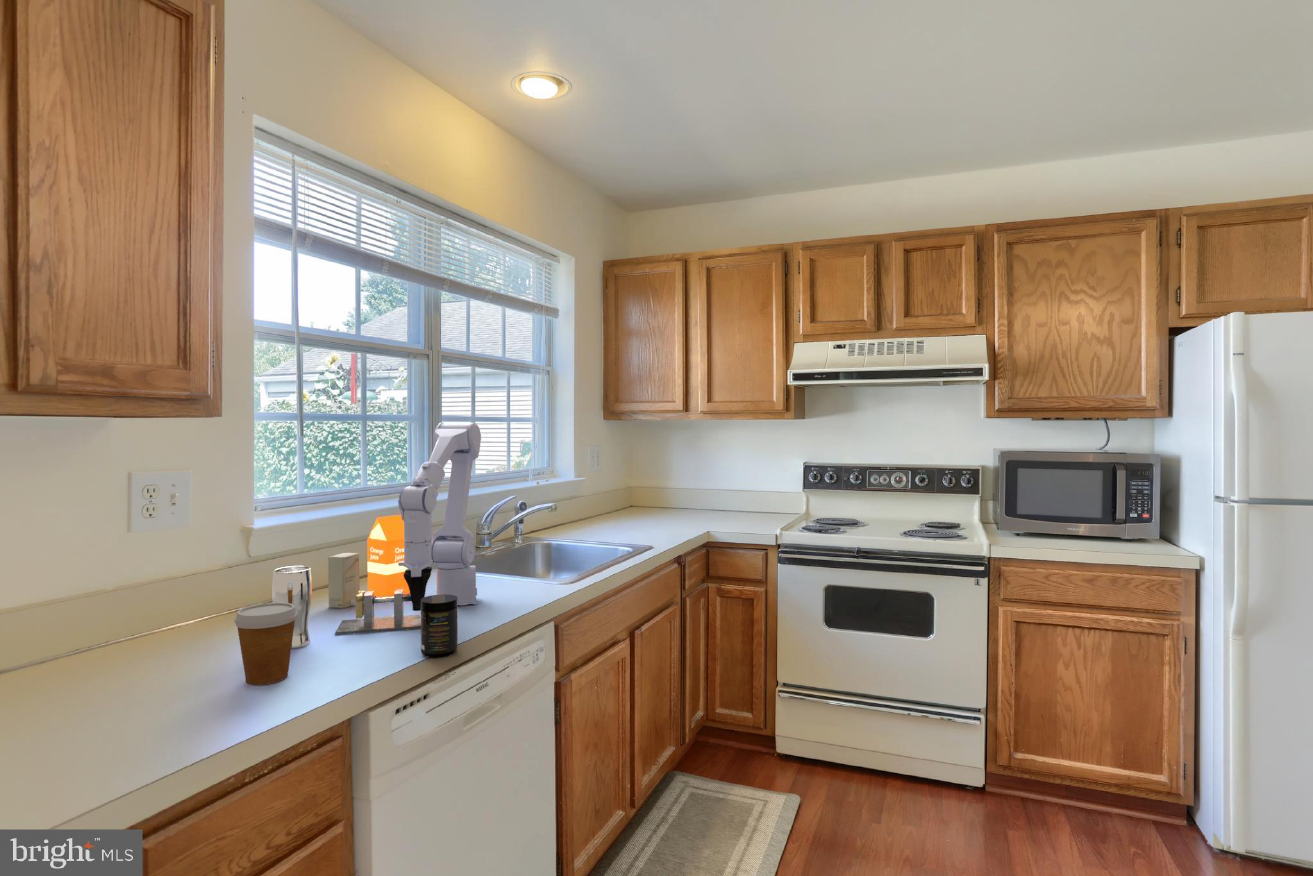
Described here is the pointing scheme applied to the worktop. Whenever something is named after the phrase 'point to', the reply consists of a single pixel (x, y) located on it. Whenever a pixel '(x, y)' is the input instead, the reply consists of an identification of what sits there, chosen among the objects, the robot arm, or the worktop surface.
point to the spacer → (360, 604)
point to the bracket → (380, 623)
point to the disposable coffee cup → (266, 641)
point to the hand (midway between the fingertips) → (418, 603)
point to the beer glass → (295, 598)
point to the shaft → (390, 601)
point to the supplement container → (439, 625)
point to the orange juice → (386, 557)
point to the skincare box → (343, 579)
